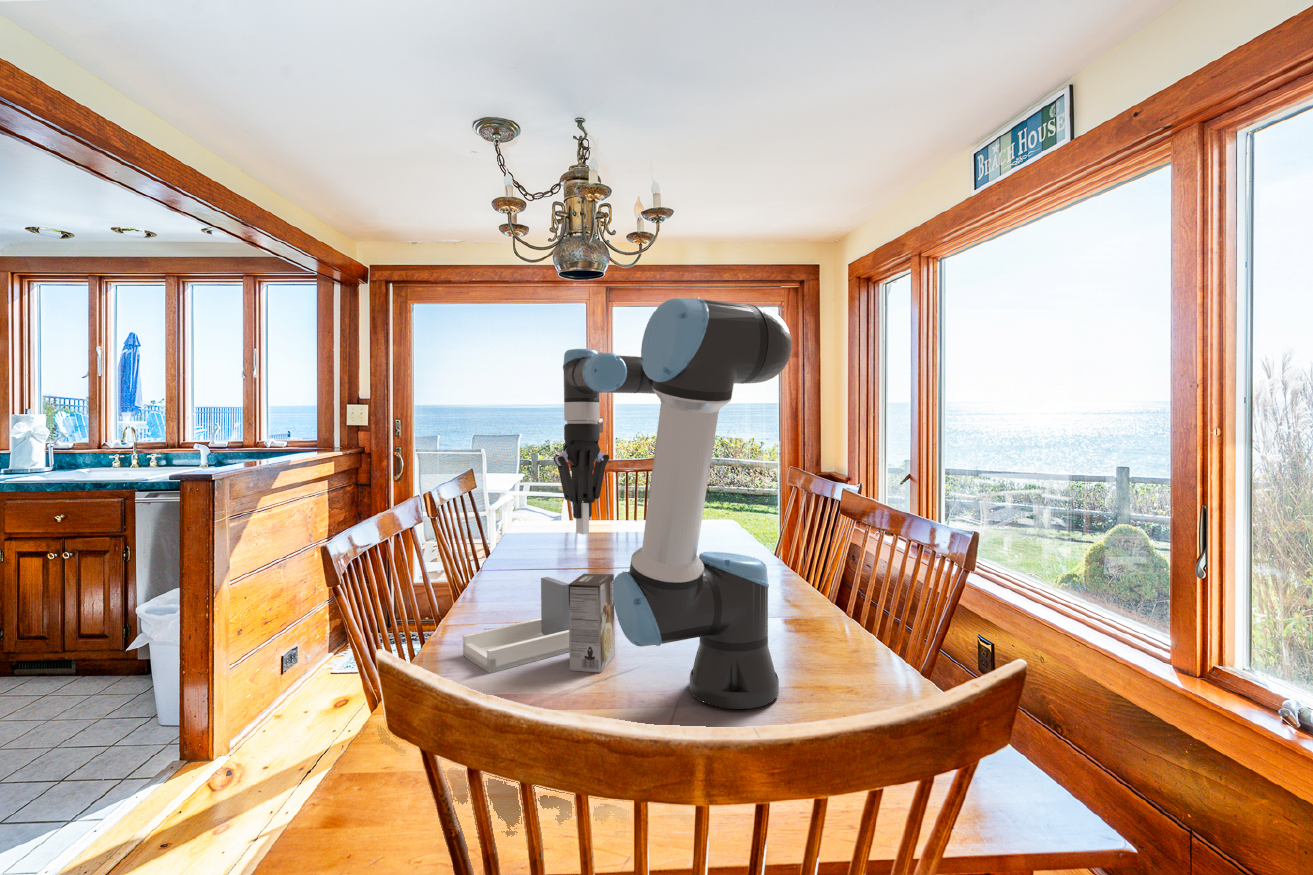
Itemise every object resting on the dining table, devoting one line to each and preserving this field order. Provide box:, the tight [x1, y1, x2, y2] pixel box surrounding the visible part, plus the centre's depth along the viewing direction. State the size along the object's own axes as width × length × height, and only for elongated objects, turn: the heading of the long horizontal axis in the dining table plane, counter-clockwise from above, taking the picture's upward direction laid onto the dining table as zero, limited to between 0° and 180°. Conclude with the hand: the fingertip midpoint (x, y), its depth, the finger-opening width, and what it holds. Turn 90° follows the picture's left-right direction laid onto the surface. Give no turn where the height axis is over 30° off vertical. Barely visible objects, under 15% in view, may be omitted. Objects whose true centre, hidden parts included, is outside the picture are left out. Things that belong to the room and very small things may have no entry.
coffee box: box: [568, 573, 616, 673], centre depth 119 cm, size 9×6×16 cm
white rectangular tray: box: [462, 617, 569, 674], centre depth 127 cm, size 12×26×6 cm, turn 130°
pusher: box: [540, 576, 570, 635], centre depth 129 cm, size 9×2×12 cm, turn 40°
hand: (582, 533), depth 134 cm, fingers closed
